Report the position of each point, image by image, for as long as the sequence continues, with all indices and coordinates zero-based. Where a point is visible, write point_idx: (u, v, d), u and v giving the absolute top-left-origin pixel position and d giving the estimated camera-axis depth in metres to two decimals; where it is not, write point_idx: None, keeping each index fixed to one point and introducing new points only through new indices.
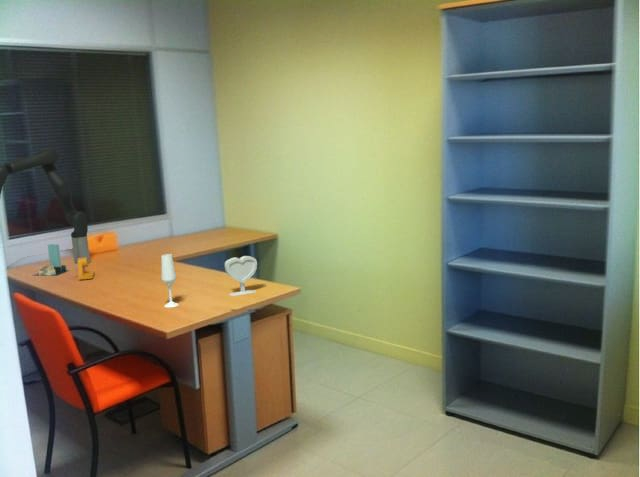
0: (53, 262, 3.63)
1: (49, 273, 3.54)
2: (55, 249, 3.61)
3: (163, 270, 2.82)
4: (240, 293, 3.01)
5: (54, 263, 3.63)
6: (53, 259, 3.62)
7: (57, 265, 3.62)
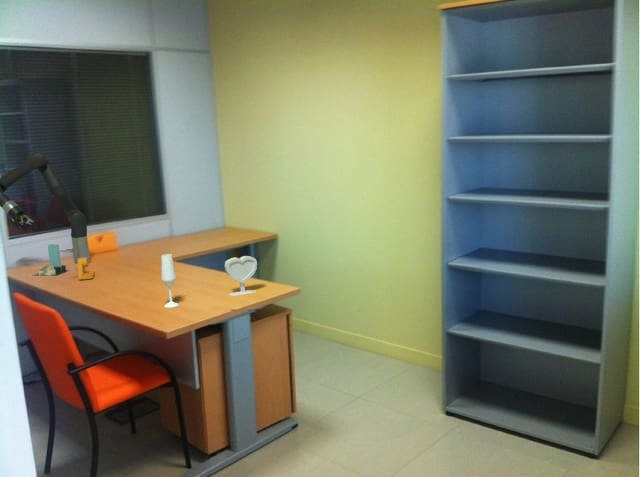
0: (53, 262, 3.63)
1: (49, 273, 3.54)
2: (55, 249, 3.61)
3: (163, 270, 2.82)
4: (240, 293, 3.01)
5: (54, 263, 3.63)
6: (53, 259, 3.62)
7: (57, 265, 3.62)
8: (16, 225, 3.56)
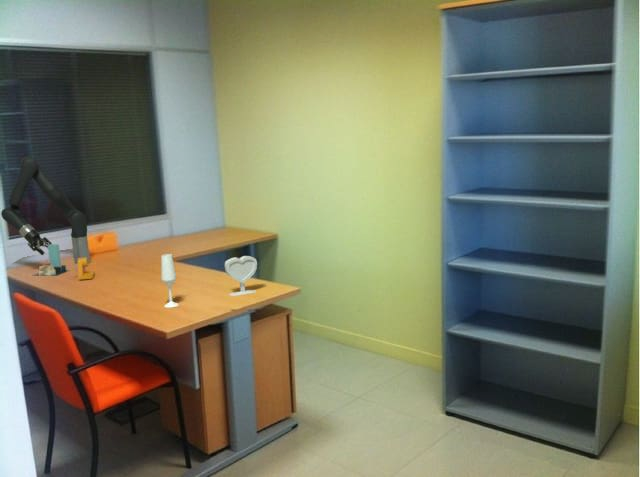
0: (53, 262, 3.63)
1: (49, 273, 3.54)
2: (55, 249, 3.61)
3: (163, 270, 2.82)
4: (240, 293, 3.01)
5: (54, 263, 3.63)
6: (53, 259, 3.62)
7: (57, 265, 3.62)
8: (33, 249, 3.57)
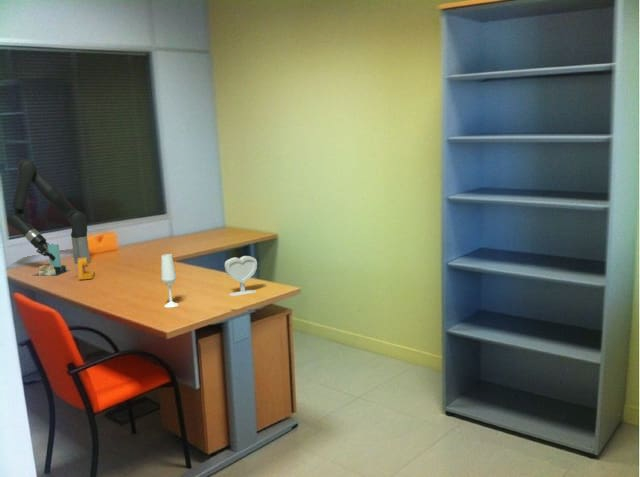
0: (53, 262, 3.63)
1: (49, 273, 3.54)
2: (55, 249, 3.61)
3: (163, 270, 2.82)
4: (240, 293, 3.01)
5: (54, 263, 3.63)
6: None
7: (57, 265, 3.62)
8: (44, 255, 3.60)
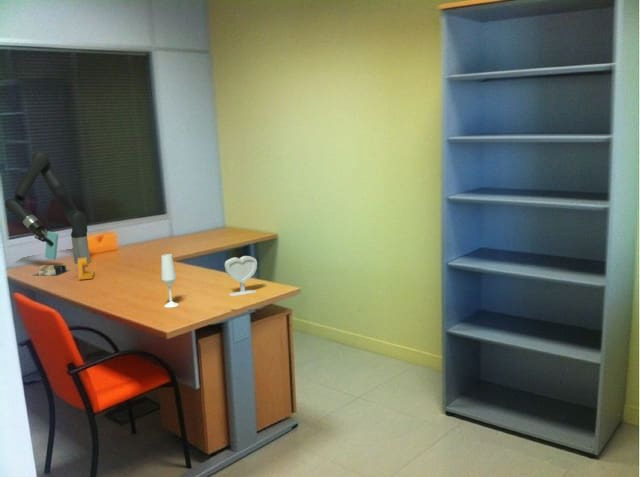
0: (49, 249, 3.62)
1: (49, 273, 3.54)
2: (54, 238, 3.59)
3: (163, 270, 2.82)
4: (240, 293, 3.01)
5: (50, 251, 3.62)
6: (50, 247, 3.61)
7: (52, 253, 3.62)
8: (42, 240, 3.58)
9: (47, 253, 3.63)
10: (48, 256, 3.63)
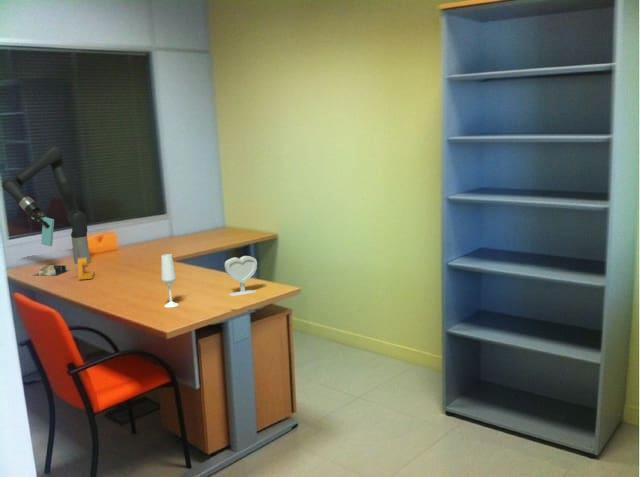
0: (45, 235, 3.60)
1: (49, 273, 3.54)
2: (50, 223, 3.58)
3: (163, 270, 2.82)
4: (240, 293, 3.01)
5: (46, 237, 3.60)
6: (46, 233, 3.60)
7: (48, 239, 3.60)
8: (38, 222, 3.56)
9: (43, 239, 3.61)
10: (44, 242, 3.61)
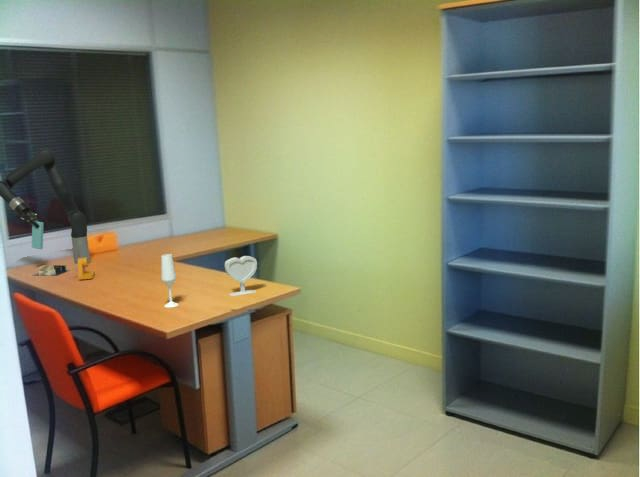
0: (35, 239, 3.63)
1: (49, 273, 3.54)
2: (39, 227, 3.60)
3: (163, 270, 2.82)
4: (240, 293, 3.01)
5: (36, 240, 3.63)
6: (36, 236, 3.62)
7: (39, 243, 3.62)
8: (28, 222, 3.58)
9: (33, 243, 3.63)
10: (35, 246, 3.64)
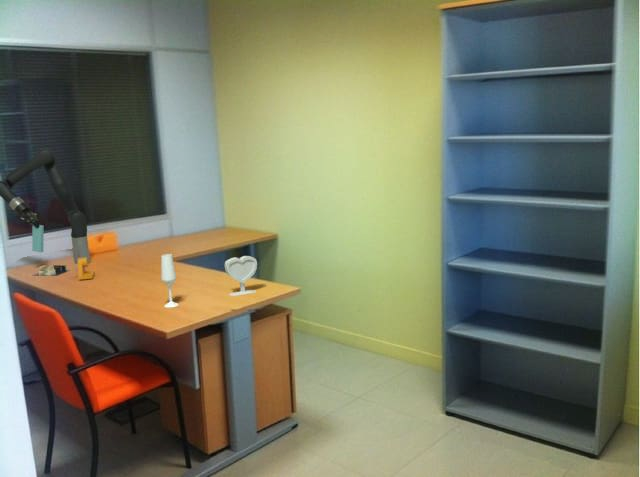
0: (36, 242, 3.63)
1: (49, 273, 3.54)
2: (39, 230, 3.61)
3: (163, 270, 2.82)
4: (240, 293, 3.01)
5: (36, 243, 3.63)
6: (36, 239, 3.63)
7: (39, 246, 3.63)
8: (28, 222, 3.58)
9: (34, 246, 3.64)
10: (35, 249, 3.64)
